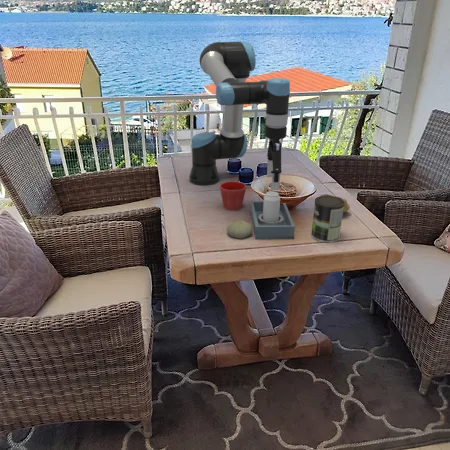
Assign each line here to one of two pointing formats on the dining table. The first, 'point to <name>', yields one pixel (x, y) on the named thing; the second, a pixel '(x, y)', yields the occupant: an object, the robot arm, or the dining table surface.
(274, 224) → the inlet ring
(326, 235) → the coffee can
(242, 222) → the sea urchin shell
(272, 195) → the beverage can
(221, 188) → the flower pot
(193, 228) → the dining table surface
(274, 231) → the walled box
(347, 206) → the oil lamp
